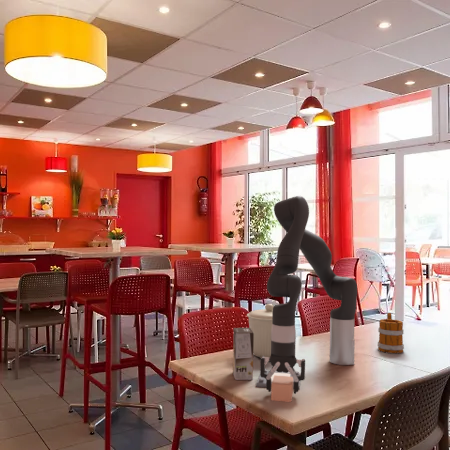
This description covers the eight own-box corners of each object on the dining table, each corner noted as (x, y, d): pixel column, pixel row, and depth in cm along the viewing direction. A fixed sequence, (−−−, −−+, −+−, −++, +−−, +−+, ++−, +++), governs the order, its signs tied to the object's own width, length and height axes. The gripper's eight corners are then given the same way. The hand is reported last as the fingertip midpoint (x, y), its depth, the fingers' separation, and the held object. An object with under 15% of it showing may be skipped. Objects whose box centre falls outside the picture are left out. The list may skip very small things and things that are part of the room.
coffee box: (253, 380, 166) (254, 332, 166) (234, 380, 165) (235, 332, 165) (249, 372, 175) (250, 327, 175) (232, 372, 174) (233, 327, 174)
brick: (293, 392, 154) (293, 376, 154) (291, 402, 145) (291, 385, 145) (274, 391, 155) (274, 375, 155) (271, 400, 147) (271, 384, 147)
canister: (238, 352, 201) (239, 301, 202) (274, 348, 210) (275, 299, 210) (261, 364, 185) (262, 308, 185) (299, 358, 194) (300, 305, 194)
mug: (378, 352, 206) (379, 317, 206) (375, 344, 222) (376, 311, 222) (405, 354, 203) (406, 319, 203) (400, 345, 219) (401, 312, 219)
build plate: (300, 376, 170) (300, 371, 170) (299, 389, 156) (299, 383, 156) (260, 373, 173) (261, 368, 173) (256, 386, 159) (256, 380, 159)
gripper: (307, 337, 153) (305, 390, 153) (261, 334, 156) (260, 386, 155) (306, 343, 146) (305, 398, 145) (258, 340, 148) (257, 394, 148)
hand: (282, 392), depth 150 cm, fingers open, 7 cm apart
